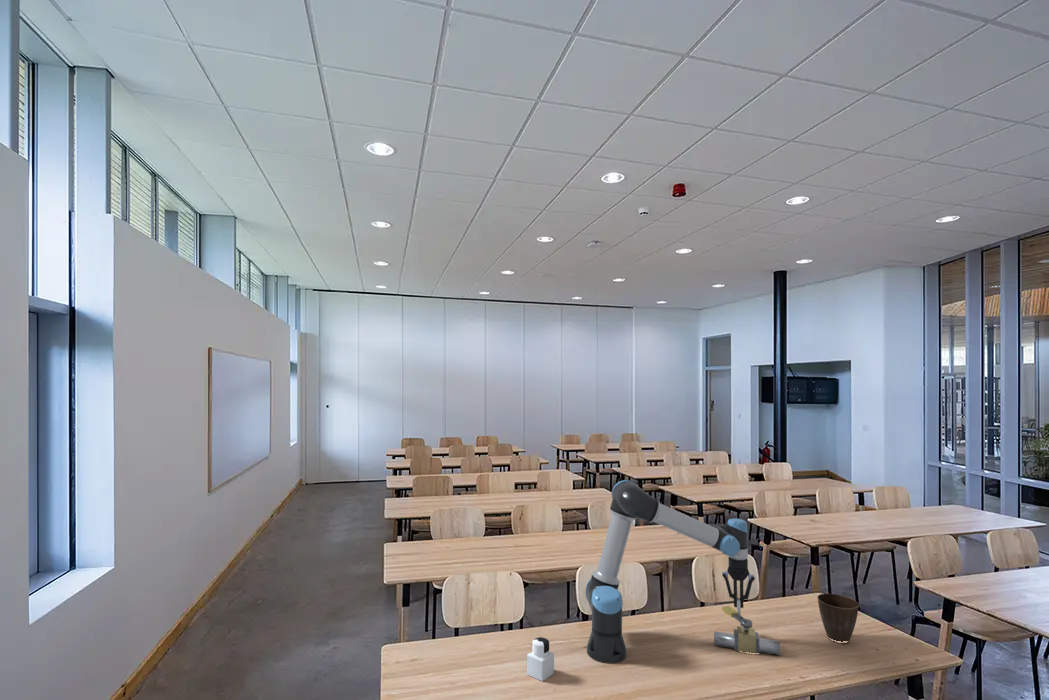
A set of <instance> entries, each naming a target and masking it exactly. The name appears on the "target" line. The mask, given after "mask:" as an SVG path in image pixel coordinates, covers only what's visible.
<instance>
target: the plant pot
mask: <svg viewBox="0 0 1049 700" xmlns="http://www.w3.org/2000/svg"><path fill="white" fill-rule="evenodd" d="M817 603H818V608H819V614H820V617H821V621H822V625H823V628H824V630H825V631H824V632H825V633H826V636H827V638H828V637H829V638H831V639H833V640H836V641H841V642H843V641H849V642H850V640H851V638H852V635H853V632H854V629H855V627H856V623H857V619H858V613H859V607H860V604H859V602H858V601H856V600H855V599H853V598H852V597H848V596H846V595H845V596H844V595H841V594H837V593H821V594H819V595H817ZM829 638H828V639H829Z"/></svg>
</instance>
